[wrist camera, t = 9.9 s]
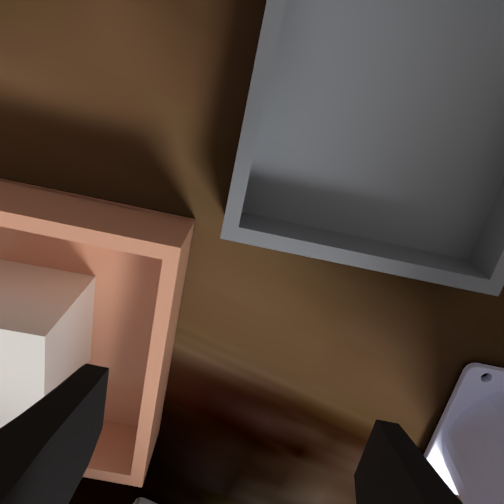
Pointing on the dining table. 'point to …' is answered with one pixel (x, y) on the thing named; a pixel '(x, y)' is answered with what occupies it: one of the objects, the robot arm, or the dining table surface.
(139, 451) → the bin
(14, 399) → the white cube
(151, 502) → the coffee box
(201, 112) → the dining table surface
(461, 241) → the tray
